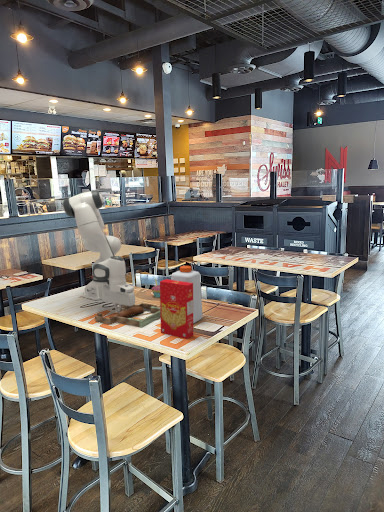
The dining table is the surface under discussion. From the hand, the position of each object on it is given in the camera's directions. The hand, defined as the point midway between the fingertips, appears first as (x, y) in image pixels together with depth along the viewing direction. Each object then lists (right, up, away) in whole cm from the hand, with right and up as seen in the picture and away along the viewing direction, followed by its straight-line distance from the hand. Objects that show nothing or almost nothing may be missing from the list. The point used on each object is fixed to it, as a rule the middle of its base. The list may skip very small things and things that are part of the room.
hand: (118, 311), depth 208 cm
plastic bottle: (+37, -3, -7) cm, 37 cm away
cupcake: (+19, +4, +35) cm, 40 cm away
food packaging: (+33, -7, -28) cm, 43 cm away
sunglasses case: (+5, -3, -2) cm, 6 cm away
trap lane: (+8, -2, -3) cm, 9 cm away
